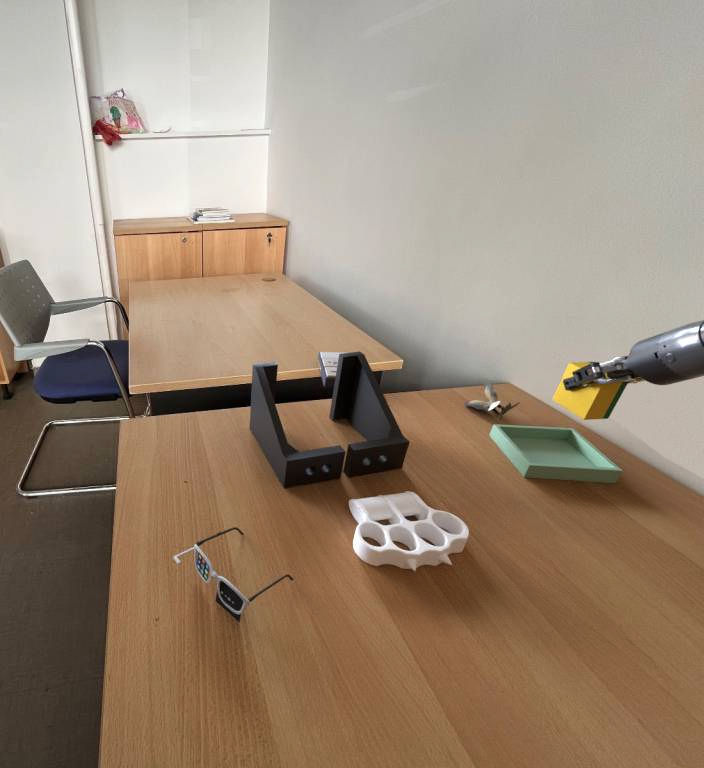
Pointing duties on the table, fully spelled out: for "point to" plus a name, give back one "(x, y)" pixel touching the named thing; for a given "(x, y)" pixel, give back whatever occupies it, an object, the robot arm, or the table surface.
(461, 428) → the table surface
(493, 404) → the eagle figurine
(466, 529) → the white brass knuckles
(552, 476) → the tray
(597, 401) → the sponge
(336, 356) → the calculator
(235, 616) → the smart glasses
